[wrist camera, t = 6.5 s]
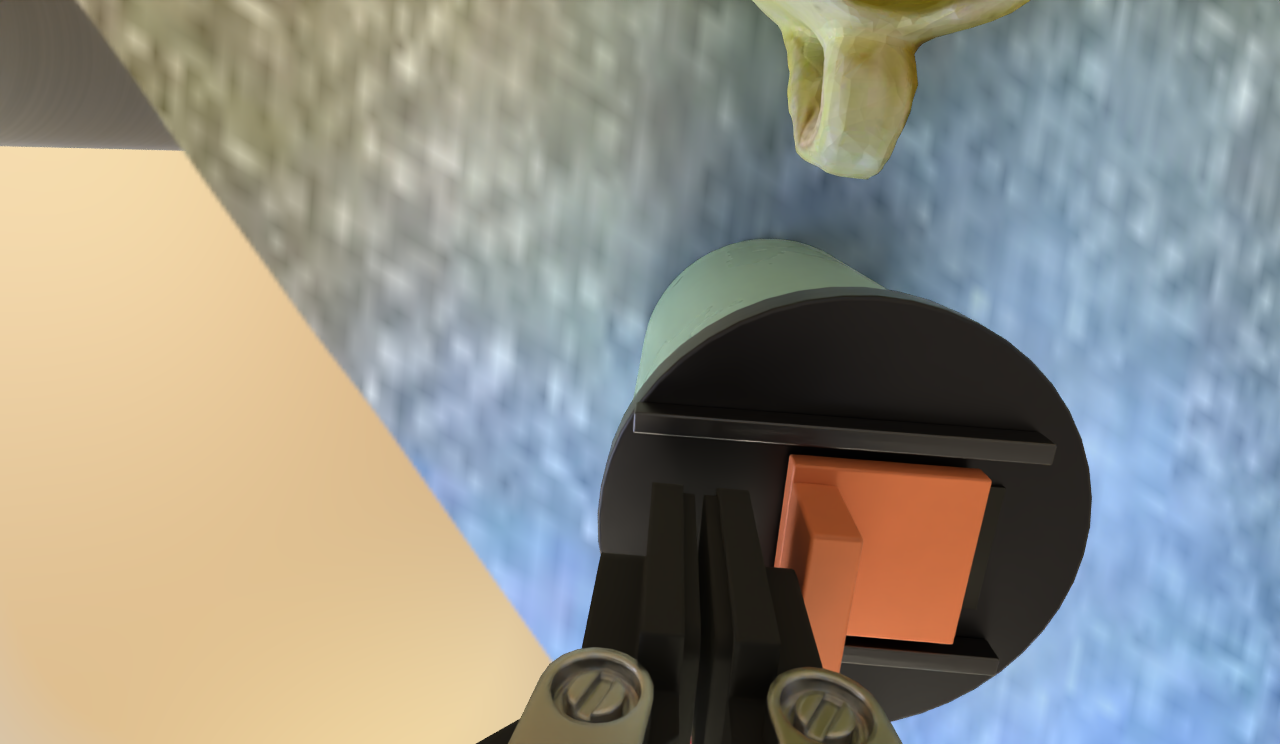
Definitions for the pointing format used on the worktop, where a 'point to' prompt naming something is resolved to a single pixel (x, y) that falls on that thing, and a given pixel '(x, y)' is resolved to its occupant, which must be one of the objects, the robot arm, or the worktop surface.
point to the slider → (880, 547)
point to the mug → (861, 71)
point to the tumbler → (856, 438)
